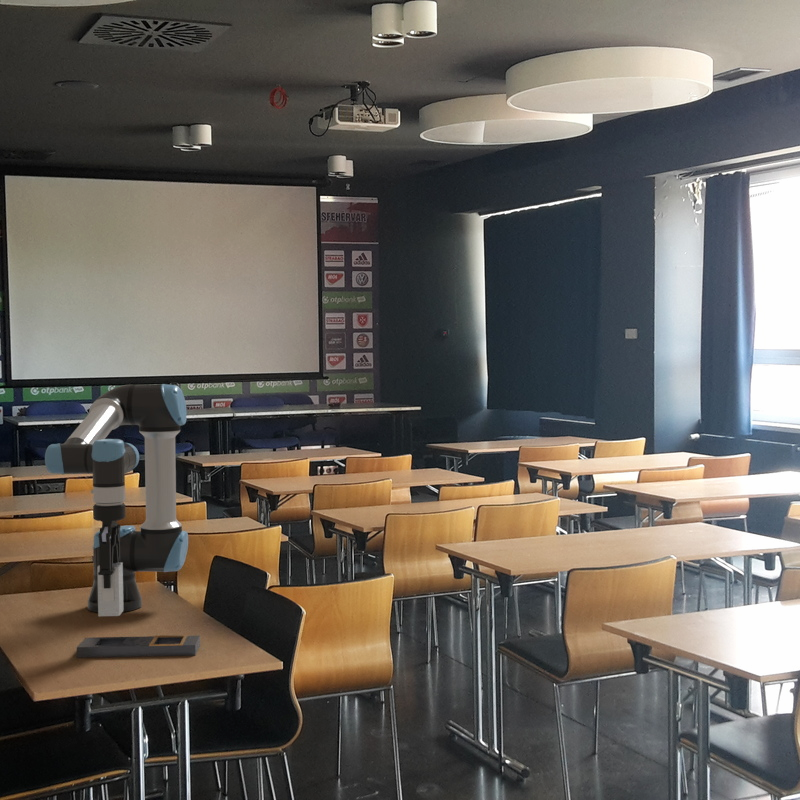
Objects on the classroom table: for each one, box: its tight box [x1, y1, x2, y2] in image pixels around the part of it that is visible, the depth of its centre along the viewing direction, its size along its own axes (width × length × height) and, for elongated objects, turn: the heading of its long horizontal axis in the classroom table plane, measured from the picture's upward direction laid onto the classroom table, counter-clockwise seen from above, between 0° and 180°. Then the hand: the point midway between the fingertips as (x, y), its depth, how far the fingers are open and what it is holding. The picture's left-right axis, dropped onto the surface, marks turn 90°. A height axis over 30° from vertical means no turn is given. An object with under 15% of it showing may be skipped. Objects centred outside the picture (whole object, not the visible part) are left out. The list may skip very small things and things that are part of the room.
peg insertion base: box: [76, 634, 201, 659], centre depth 252 cm, size 9×28×3 cm, turn 94°
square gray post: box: [97, 562, 124, 617], centre depth 251 cm, size 5×5×12 cm
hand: (110, 597), depth 251 cm, fingers closed on square gray post, 5 cm apart
